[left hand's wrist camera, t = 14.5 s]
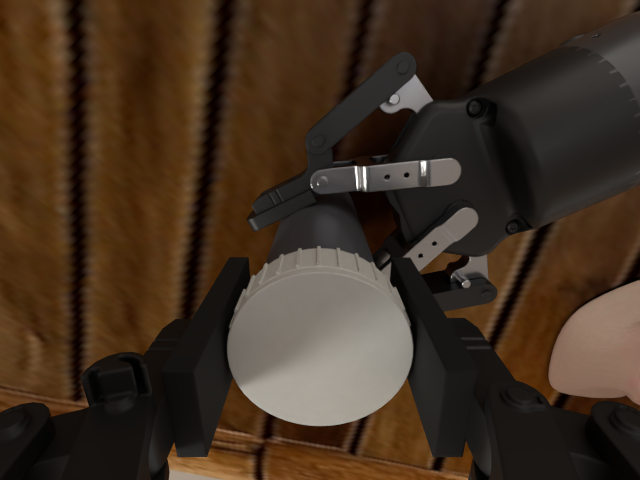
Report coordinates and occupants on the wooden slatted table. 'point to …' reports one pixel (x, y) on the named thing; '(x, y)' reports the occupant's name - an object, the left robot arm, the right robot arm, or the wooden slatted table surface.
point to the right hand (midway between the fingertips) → (278, 263)
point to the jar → (322, 228)
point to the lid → (320, 338)
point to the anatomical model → (601, 348)
